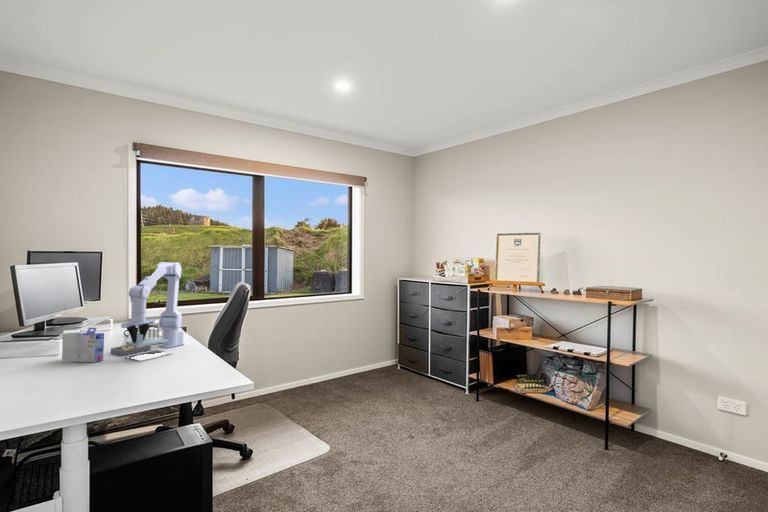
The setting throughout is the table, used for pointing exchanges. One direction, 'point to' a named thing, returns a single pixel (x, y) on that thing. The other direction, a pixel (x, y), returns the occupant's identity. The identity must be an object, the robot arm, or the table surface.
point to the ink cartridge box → (89, 346)
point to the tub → (129, 349)
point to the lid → (147, 341)
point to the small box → (69, 345)
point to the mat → (146, 353)
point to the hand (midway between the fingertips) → (138, 341)
